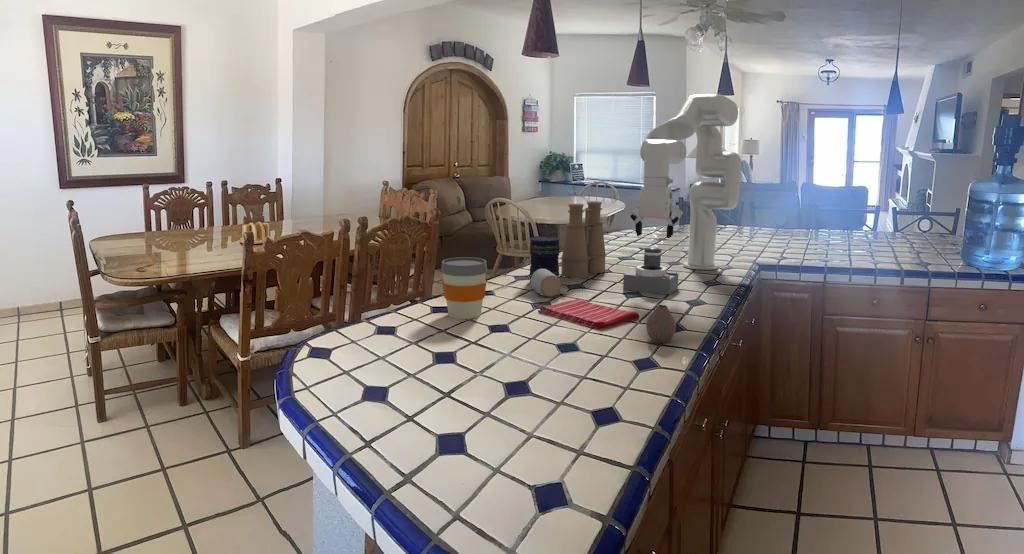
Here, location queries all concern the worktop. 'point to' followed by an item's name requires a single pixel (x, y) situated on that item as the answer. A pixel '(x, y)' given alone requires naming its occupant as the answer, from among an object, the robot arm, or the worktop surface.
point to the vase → (661, 325)
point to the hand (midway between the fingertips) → (653, 236)
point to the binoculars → (584, 242)
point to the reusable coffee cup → (464, 286)
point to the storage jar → (544, 254)
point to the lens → (652, 258)
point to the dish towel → (589, 314)
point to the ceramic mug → (546, 283)
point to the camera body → (651, 280)
